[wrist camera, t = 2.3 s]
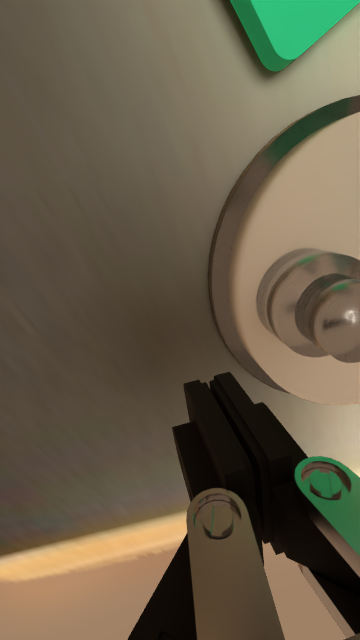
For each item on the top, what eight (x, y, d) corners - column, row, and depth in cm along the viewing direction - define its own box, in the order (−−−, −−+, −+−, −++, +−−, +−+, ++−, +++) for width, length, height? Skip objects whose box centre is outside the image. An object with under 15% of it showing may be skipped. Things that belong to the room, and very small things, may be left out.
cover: (344, 239, 19) (426, 251, 14) (340, 328, 21) (409, 365, 16) (252, 257, 18) (304, 277, 13) (258, 347, 20) (304, 392, 15)
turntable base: (496, 80, 21) (513, 74, 20) (442, 358, 29) (453, 363, 28) (187, 121, 18) (191, 117, 17) (223, 416, 27) (227, 423, 26)
